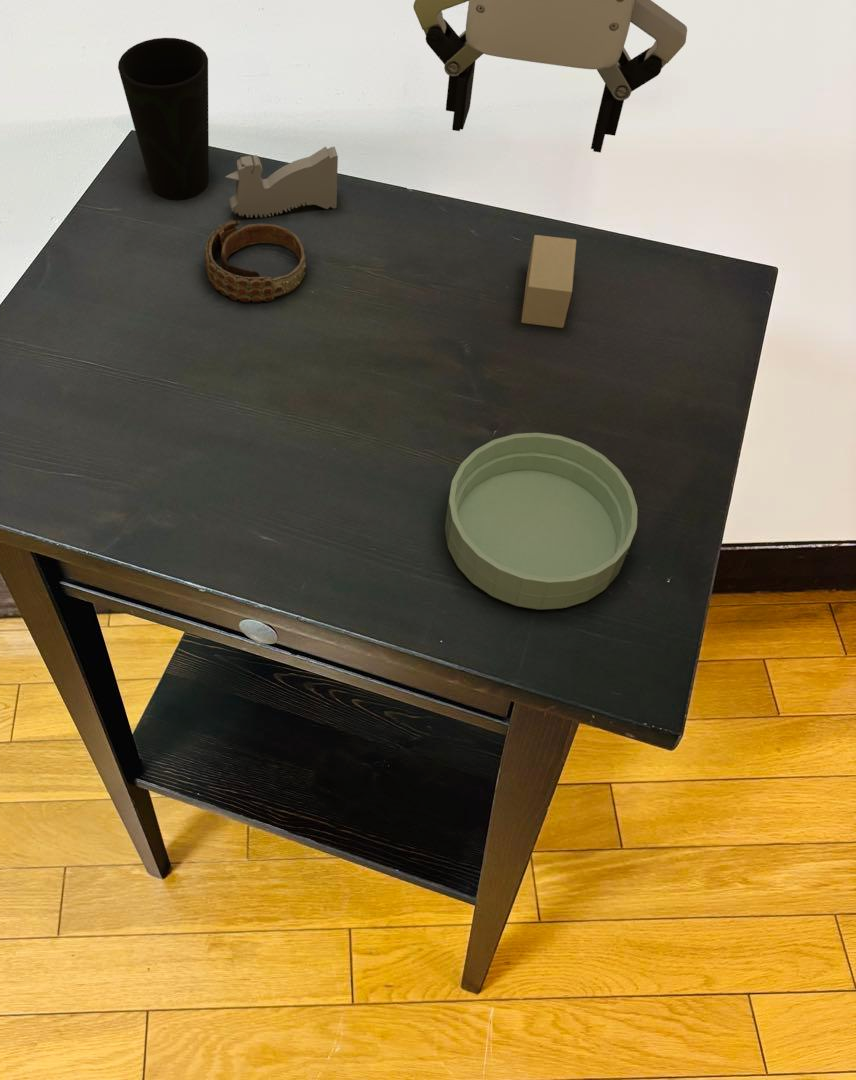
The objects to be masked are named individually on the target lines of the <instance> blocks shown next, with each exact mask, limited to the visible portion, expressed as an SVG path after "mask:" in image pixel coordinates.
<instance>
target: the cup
mask: <svg viewBox="0 0 856 1080" xmlns="http://www.w3.org/2000/svg"><path fill="white" fill-rule="evenodd" d="M117 70H118V73H119V76H120V80H121V84H122V88H123V91H124V95H125V98H126V103H127V105H128V109H129V113H130V116H131V117H130V118H131V120H132V125H133V128H134V132H135V135H136V138H137V143H138V144H139V150H140V153H141V156H142V161H143V164H144V167H145V171H146V174H147V179H148V182H149V186H150V189H151V190H152V192H153V193H154V194H155V195H157V196H158V197H161V198H163V199H166V200H171V201H181V200H182V201H183V200H188V199H192V198H194V197H197V196H198V195H201V194H202V193H203V192H204V191H205V190H206V189H207V187H208V186H209V182H210V181H209V180H210V177H209V176H210V162H209V160H210V155H209V154H210V151H209V148H210V147H209V145H210V144H209V143H210V142H209V141H210V140H209V137H210V136H209V135H210V133H209V57H208V55H207V52H206V51H204V49H203V48H202V47H201V46H199V45H198V44H197V43H194V42H192V41H189V40H186V39H182V38H176V37H159V38H152V39H147V40H144V41H141V42H138V43H137V44H135V45H133V46H131V47H129V48H128V49H127V50H125V52H124V53H122V55H121V57H120V58H119V60H118V64H117Z"/></svg>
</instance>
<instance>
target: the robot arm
mask: <svg viewBox="0 0 856 1080" xmlns="http://www.w3.org/2000/svg"><path fill="white" fill-rule="evenodd" d="M465 3H468V5H467V12H466V20H465V21H466V22H465V29H464V31H463V32H462V33H460V34H459V35H458V34H457V32H456V31H455V30H454V29H453V27H452V26H451V25H450V24H449V22H448V21H447V20H446V19H445V18H444V14H443V11H445V10H447V9H450V8H453V7H457V6H459V5H462V4H465ZM412 6H413V11H414V13H415V15H416V17H417V20H418V23H419V25H420V27H421V29H422V31H423V33H424V35H425V42H426V44H427V45H428V46H429V48H430V49H431V50H432V51H433V53H434V54H435V55H436V56H437V57H438V59H439V60H440V62H441V63H443V65H444V72H445V74H446V75H447V76H448V83H447V91H446V92H447V93H446V101H445V102H446V103H445V111H446V112H453V117H452V126H451V131H455V132H460V131H461V130H464V127H465V125H466V121H467V118H468V115H469V111H470V108H471V101H472V93H473V87H474V86H473V84H474V79H475V70H476V69H475V68H476V61H477V60H478V59H479V58H480V57H482V56H483V55H487V56H490V57H491V56H492V57H497V58H501V59H509V60H516V61H522V62H530V63H537V64H545V65H551V66H553V65H554V66H560V67H567V68H572V69H573V68H574V69H583V70H596V71H597V73H598V75H599V76H600V78H601V80H602V81H603V82H604V87H603V91H602V96H601V100H600V104H599V109H598V113H597V117H596V122H595V127H594V131H593V136H592V140H591V146H590V149H591V150H592V152H595V153H602V150H603V149H602V148H603V145H604V141H605V136H606V135H608V136H615V137H616V135H617V130H618V127H619V123H620V122H619V121H620V119H621V118H620V117H621V114H622V111H623V106H624V103H625V101H626V100H627V99H629V98H630V96H631V95H632V92H633V91H635V90H637V89H639V88H640V87H643V85H645V84H646V83H648V82H650V81H651V80H653V79H655V78H656V77H658V76H659V75H660V74H661V72H662V69H663V68H664V67H665V66H666V65H667V64H669V62H670V61H672V59H673V58H674V57H675V56H676V55H677V54H678V52H679V51H681V49H682V48H684V46H685V44H686V42H687V36H688V35H687V34H688V27H687V25H686V24H685V23H683V22H681V21H680V20H679V19H677V17H675V16H673V15H672V14H671V13H670V12H668V11H666V10H665V9H664V8H662V7H661V6H660V5H658V4H657V3H655V1H653V0H414V2H413V5H412ZM631 24H633V25H634V26H635V27H637V29H638V28H639V30H641V31H642V32H644V33H645V34H647V35H648V36H649V37H651V39H652V38H653V40H655V41H654V42H653V45H651V47H648V48H647V49H645V50H644V51H642V52H640V53H638V54H637V55H636V56H635V57H633V58H631V57H630V55H629V52H627V50H626V48H625V45H626V41H627V38H628V34H629V30H630V26H631Z"/></svg>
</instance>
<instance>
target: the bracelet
mask: <svg viewBox="0 0 856 1080" xmlns="http://www.w3.org/2000/svg"><path fill="white" fill-rule="evenodd" d="M240 223H241V222H240V220H237V221H236V220H234V219H232V220H229V221H227V222H226V223H221V224H220V225H218V226H217V228H216V229H214V230H213V231H212V232H211V233H210V235H209V237H208V238H207V239H206V244H205V247H204V260H205V270H206V275H207V278H208V281H209V282H210V283H211V286H212V287H213V288H214V289H215V290H216V291H219V292H220V293H221V294H222V296H226V297H227V296H228V297H229V298H230V299H231V300H234V301H237V300H239V301H240V302H243V303H244V302H245V303H250V302H253V303H255V304H257V303H258V304H259V303H260V302H267V303H268V302H271V301H273V300H274V299H275V298H276V297H279V296H282V295H285V294H286V295H287V294H289V293H290V292H293V291H294V290H295V289H296V288H297V287H299V285H301V283H302V281H303V279H304V277H305V275H306V272H305V269H307V266H306V265H307V263H306V260H307V258H306V257H307V255H306V254H305V248H304V245H303V244H302V242H301V240H300V238H299V237H298V236H297V235H296V234H295V233H294V232H292V231H291V230H290V229H288V228H287V227H283V226H280V225H278V224H273V223H272V224H271V223H251V224H246V225H243V226H242V227H240V228H237V227H239V226H240ZM262 243H263V244H264V243H268V244H269V243H270V244H275V245H280V246H283V247H285V248H286V249H288V250H291V251H292V252H293V253H294V254H295V256H297V259H298V261H299V263H298V265H297V266H296V267H295V268H293V270H292V271H290V272H289V273H287V274H285V275H281V276H277V277H276V276H275V277H271V276H267V275H266V276H261V275H260V274H259V272H258V271H255V270H251V269H245V268H242V267H239V266H236V265H232V264H230V263H228V262H227V260H228V258H229V256H230V255H232V254H233V253H235V252H236V251H238V250H240V249H242V248H244V247H246V246H250V245H254V244H262ZM219 255H220V262H221V263H220V264H221V266H219V264H217V262H216V261H215V260H216V258H217V257H218V256H219Z"/></svg>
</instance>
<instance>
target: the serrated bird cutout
mask: <svg viewBox="0 0 856 1080" xmlns="http://www.w3.org/2000/svg"><path fill="white" fill-rule="evenodd" d="M338 161H339V155H338V152H337V149H336V147H335V146H330V147H329V148H328V147H327V146H324V147H322V148H321V149H319V150H317V151H316V152H314V153H312V154H311V155H310V156H307V157H302V158H300V159H296V160H293V161H292V162H289V163H287V164H285V165H283V166H281V167H280V168H278V169H277V170H275V171H274V172H273V173H272V174H270V175H269V176H268V177H266V178H262V173H263V166H262V161H261V159H260V158H259V156H258V155H257V154H255V155H253V156H252V155H245V156H240V157H239V159H237V160H236V170H235V171H234V172H231V173H229V174H227V175H225V176H224V178H228V179H231V180H234V181H235V182H236V183H235V194H234V195H232V196H231V197H230V198H229V204H230V208H231V212H232V213H233V212H234V214H235V215H237V214H238V216H239V217H244V216H245V217H246V218H251V219H252V218H253V217H254V218H255V219H257V218H258V217H259V218H267V217H272V216H273V217H274V216H275V215H276V216H278V215H279V214H283V213H284V212H285V213H288V211H289V212H291V209H292V210H294V209H298V208H300V207H302V206H303V207H305V206H306V205H307V206H312V205H315V206H318V207H320V208H323V209H325V210H328V209H329V208H331V209H337V207H338V206H337V205H338V169H339V168H338V163H339V162H338ZM283 211H284V212H283Z"/></svg>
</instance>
